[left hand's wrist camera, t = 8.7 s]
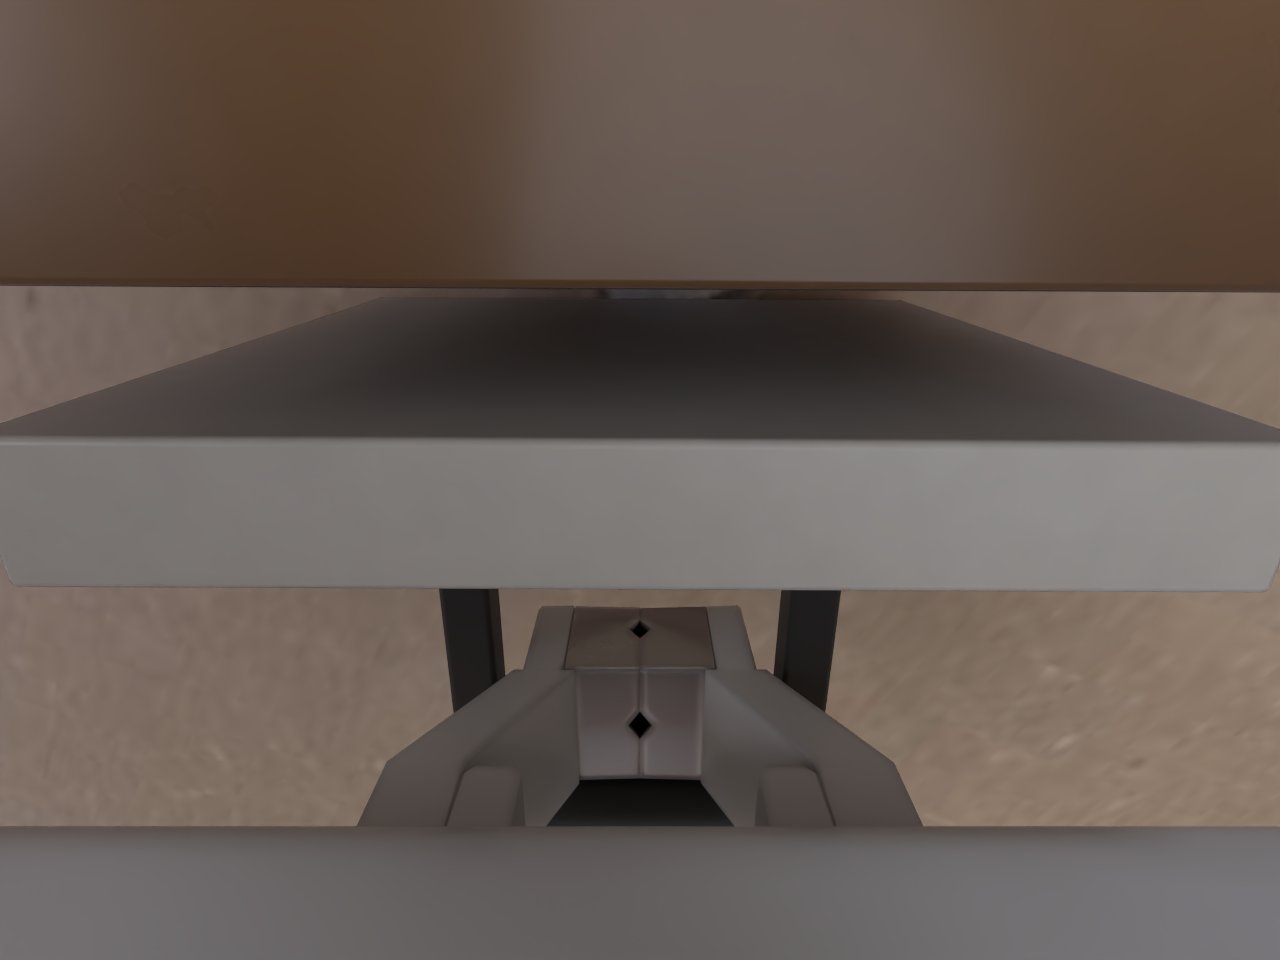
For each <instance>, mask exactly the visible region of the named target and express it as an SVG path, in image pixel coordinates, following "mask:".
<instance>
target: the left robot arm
mask: <svg viewBox="0 0 1280 960" xmlns="http://www.w3.org/2000/svg"><path fill="white" fill-rule="evenodd" d="M632 778H646V779H682V780H701V784H702V785H703V786H704V788H705V789H706V790H707V792H708V793H709V794H710V795H711V797H712V798H713V799H714V801H715V802H716V803H717V804H718V806H719V807H720V808H721V810H722V811H723V812H724V813H725V815H726V816H727V817H728V818H729V820H730V821H731V822H732V824H733V825H734V826H546V825H547V824H548V823H549V822H550V820H551V819H552V818H553V816H554V815H555V814H556V813H557V811H558V810H559V809H560V808H561V806H562V805H563V804H564V802H565V801H566V800H567V799H568V797H569V796H570V795H571V793H572V792H573V791H574V790H575V788H576V787H577V786H578V785H579V780H597V779H632ZM0 960H1280V827H1160V826H923V825H922V822H921V820H920V818H919V816H918V814H917V812H916V809H915V807H914V805H913V803H912V801H911V799H910V796H909V794H908V792H907V790H906V788H905V786H904V783H903V781H902V779H901V777H900V775H899V773H898V770H897V768H896V766H895V764H894V763H893V762H892V761H891V760H889V759H888V758H887V757H885V756H884V755H883V754H881V753H880V752H878V751H877V750H876V749H874V748H873V747H872V746H870V745H869V744H867V743H866V742H865V741H863V740H862V739H861V738H859V737H858V736H856V735H855V734H854V733H852V732H851V731H850V730H848V729H847V728H845V727H844V726H843V725H841V724H840V723H839V722H837V721H836V720H834V719H833V718H832V717H830V716H829V715H828V714H826V713H825V712H823V711H822V710H821V709H819V708H818V707H817V706H815V705H814V704H813V703H811V702H810V701H808V700H807V699H806V698H804V697H803V696H802V695H800V694H799V693H797V692H796V691H795V690H793V689H792V688H791V687H789V686H788V685H786V684H785V683H784V682H782V681H781V680H780V679H778V678H777V677H775V676H774V675H773V674H771V673H770V672H769V671H767V670H757V669H756V666H755V662H754V658H753V654H752V650H751V646H750V643H749V639H748V635H747V631H746V627H745V624H744V620H743V616H742V612H741V608H740V607H738V606H712V607H674V608H640V607H589V606H576V607H574V606H542V607H541V608H540V609H539V611H538V615H537V619H536V623H535V627H534V631H533V634H532V638H531V642H530V646H529V650H528V654H527V658H526V662H525V665H524V669H523V670H513V671H511V672H510V673H509V674H507V675H506V676H505V677H503V678H502V679H500V680H499V681H498V682H496V683H495V684H494V685H492V686H491V687H489V688H488V689H487V690H485V691H484V692H482V693H481V694H480V695H478V696H477V697H476V698H474V699H473V700H471V701H470V702H469V703H467V704H466V705H465V706H463V707H462V708H460V709H459V710H458V711H456V712H455V713H454V714H452V715H451V716H449V717H448V718H447V719H445V720H444V721H442V722H441V723H440V724H438V725H437V726H436V727H434V728H433V729H431V730H430V731H429V732H427V733H426V734H425V735H423V736H422V737H420V738H419V739H418V740H416V741H415V742H414V743H412V744H411V745H409V746H408V747H407V748H405V749H404V750H402V751H401V752H400V753H398V754H397V755H396V756H394V757H393V758H391V759H390V760H389V761H387V763H386V765H385V767H384V769H383V771H382V773H381V775H380V778H379V780H378V782H377V784H376V786H375V788H374V790H373V793H372V795H371V797H370V799H369V801H368V803H367V805H366V807H365V810H364V812H363V814H362V816H361V818H360V820H359V822H358V825H357V826H0Z"/></svg>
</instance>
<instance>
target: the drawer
mask: <svg viewBox="0 0 1280 960" xmlns="http://www.w3.org/2000/svg"><path fill="white" fill-rule="evenodd" d="M0 556H1V558H2V561H3V564H4V566H5V569H6V572H7V574H8V577H9V579H10V581H11V582H12V583H13V584H14V585H16V586H18V587H225V588H439V592H440V600H441V609H442V617H443V626H444V634H445V643H446V651H447V660H448V668H449V677H450V685H451V694H452V703H453V711H454V713H455V712H456V711H458V710H459V709H460V708H462V707H463V706H465V705H466V704H467V703H469V702H470V701H471V700H473V699H474V698H476V697H477V696H478V695H480V694H481V693H482V692H484V691H485V690H487V689H488V688H489V687H491V686H492V685H494V684H495V683H496V682H498V681H499V680H500V679H502V678H503V677H505V666H504V654H503V641H502V629H501V617H500V604H499V592H498V589H660V590H781V601H780V611H779V622H778V633H777V644H776V655H775V665H774V676H775V677H777V678H778V679H780V680H781V681H782V682H784V683H785V684H786V685H788V686H789V687H791V688H792V689H793V690H795V691H796V692H797V693H799V694H800V695H802V696H803V697H804V698H806V699H807V700H808V701H810V702H811V703H813V704H814V705H815V706H817V707H818V708H819V709H821V710H822V711H823V712H825V710H826V702H827V694H828V686H829V679H830V671H831V663H832V655H833V648H834V640H835V632H836V624H837V617H838V609H839V601H840V593H841V590H878V591H1095V592H1264V591H1266V590H1267V589H1268V588H1269V587H1270V586H1271V583H1272V581H1273V578H1274V576H1275V573H1276V571H1277V568H1278V566H1279V563H1280V429H1277V428H1274V427H1271V426H1269V425H1266V424H1263V423H1260V422H1257V421H1254V420H1251V419H1248V418H1245V417H1242V416H1239V415H1236V414H1233V413H1230V412H1227V411H1224V410H1221V409H1219V408H1216V407H1213V406H1210V405H1207V404H1204V403H1201V402H1198V401H1195V400H1192V399H1189V398H1186V397H1183V396H1180V395H1177V394H1174V393H1171V392H1169V391H1166V390H1163V389H1160V388H1157V387H1154V386H1151V385H1148V384H1145V383H1142V382H1139V381H1136V380H1133V379H1130V378H1127V377H1124V376H1121V375H1119V374H1116V373H1113V372H1110V371H1107V370H1104V369H1101V368H1098V367H1095V366H1092V365H1089V364H1086V363H1083V362H1080V361H1077V360H1074V359H1072V358H1069V357H1066V356H1063V355H1060V354H1057V353H1054V352H1051V351H1048V350H1045V349H1042V348H1039V347H1036V346H1033V345H1030V344H1027V343H1024V342H1022V341H1019V340H1016V339H1013V338H1010V337H1007V336H1004V335H1001V334H998V333H995V332H992V331H989V330H986V329H983V328H980V327H977V326H974V325H972V324H969V323H966V322H963V321H960V320H957V319H954V318H951V317H948V316H945V315H942V314H939V313H936V312H933V311H930V310H927V309H924V308H922V307H919V306H916V305H913V304H910V303H907V302H904V301H901V300H752V299H559V298H378V299H375V300H372V301H369V302H366V303H363V304H360V305H357V306H354V307H351V308H348V309H345V310H342V311H339V312H336V313H333V314H330V315H327V316H324V317H321V318H318V319H315V320H312V321H309V322H306V323H303V324H300V325H297V326H294V327H291V328H288V329H285V330H282V331H279V332H276V333H273V334H270V335H267V336H264V337H261V338H258V339H255V340H252V341H249V342H245V343H242V344H239V345H236V346H233V347H230V348H227V349H224V350H221V351H218V352H215V353H212V354H209V355H206V356H203V357H200V358H197V359H194V360H191V361H188V362H185V363H182V364H179V365H176V366H173V367H170V368H167V369H164V370H161V371H158V372H155V373H152V374H149V375H146V376H143V377H140V378H137V379H134V380H131V381H128V382H125V383H122V384H119V385H116V386H113V387H109V388H106V389H103V390H100V391H97V392H94V393H91V394H88V395H85V396H82V397H79V398H76V399H73V400H70V401H67V402H64V403H61V404H58V405H55V406H52V407H49V408H46V409H43V410H40V411H37V412H34V413H31V414H28V415H25V416H22V417H19V418H16V419H13V420H10V421H7V422H4V423H1V424H0ZM546 826H734V825H733V824H732V822H731V821H730V820H729V818H728V817H727V816H726V815H725V813H724V812H723V811H722V810H721V808H720V807H719V806H718V804H717V803H716V802H715V801H714V799H713V798H712V797H711V795H710V794H709V793H708V792H707V790H706V789H705V788H704V786H703V785H702V784H701V780H682V779H646V778H632V779H597V780H579V785H578V786H577V787H576V788H575V790H574V791H573V792H572V793H571V795H570V796H569V797H568V799H567V800H566V801H565V802H564V804H563V805H562V806H561V808H560V809H559V810H558V811H557V813H556V814H555V815H554V816H553V818H552V819H551V820H550V822H549V823H548V824H547V825H546Z"/></svg>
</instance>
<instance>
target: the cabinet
mask: <svg viewBox="0 0 1280 960" xmlns="http://www.w3.org/2000/svg"><path fill="white" fill-rule="evenodd" d="M0 286H137V287H329V288H521V289H713V290H904V291H1096V292H1280V0H0Z"/></svg>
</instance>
